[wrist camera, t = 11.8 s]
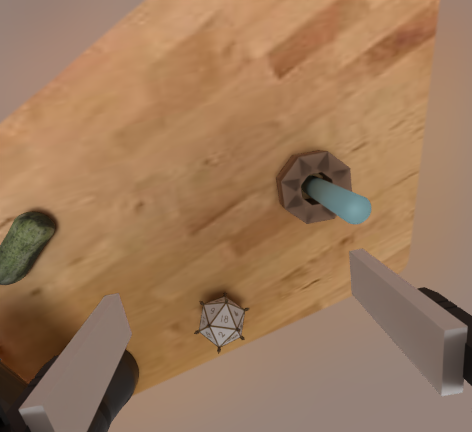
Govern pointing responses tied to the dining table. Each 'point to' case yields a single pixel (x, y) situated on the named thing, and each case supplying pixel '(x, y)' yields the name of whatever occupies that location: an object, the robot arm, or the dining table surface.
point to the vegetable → (23, 245)
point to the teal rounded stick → (338, 199)
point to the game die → (221, 321)
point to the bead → (296, 175)
